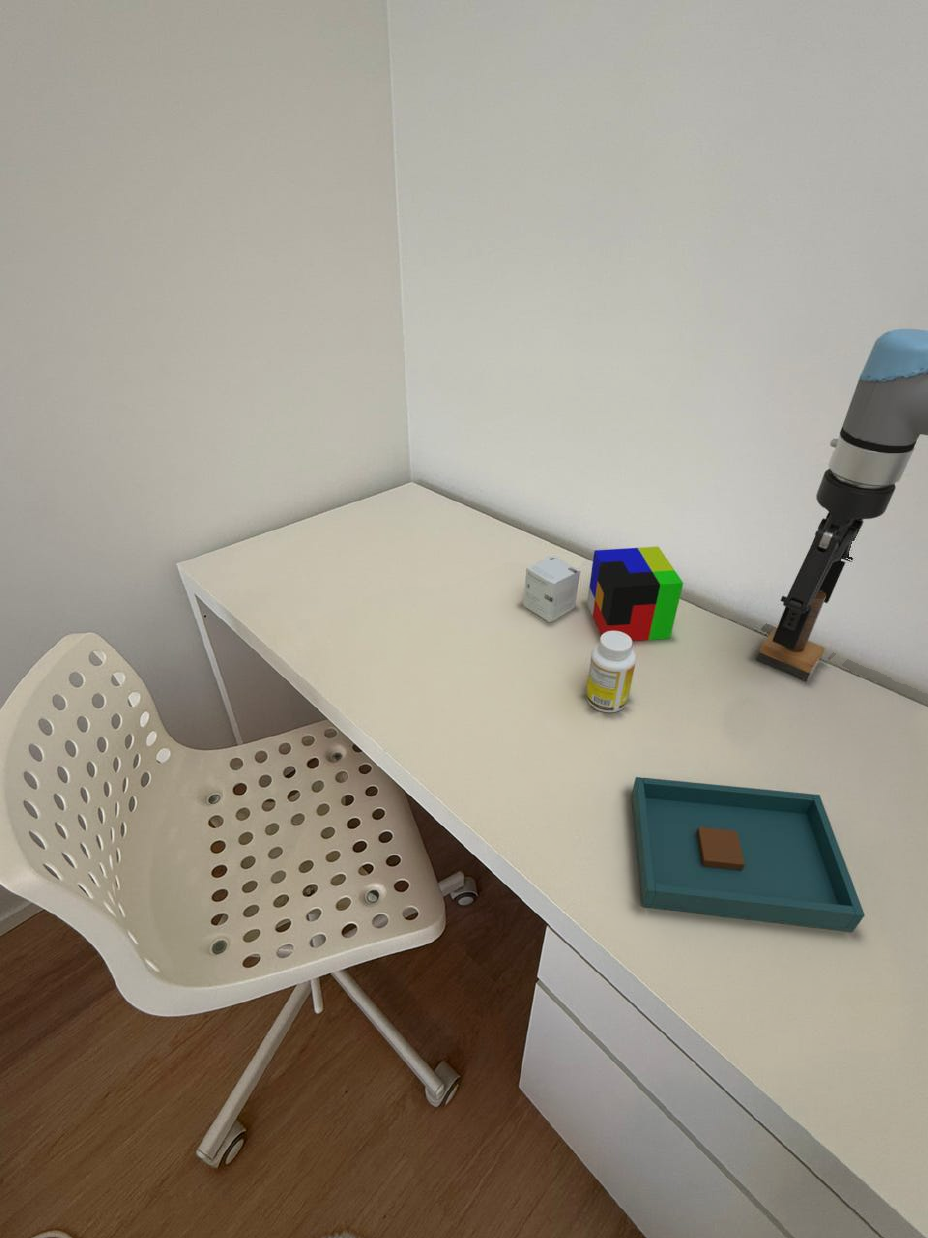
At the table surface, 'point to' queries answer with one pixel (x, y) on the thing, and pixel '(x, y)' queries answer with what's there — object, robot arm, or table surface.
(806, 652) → the wooden rubber stamp
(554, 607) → the white cardboard box
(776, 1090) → the table surface
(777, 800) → the tray
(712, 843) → the brown square tile
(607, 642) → the supplement bottle
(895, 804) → the table surface
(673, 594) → the puzzle toy
